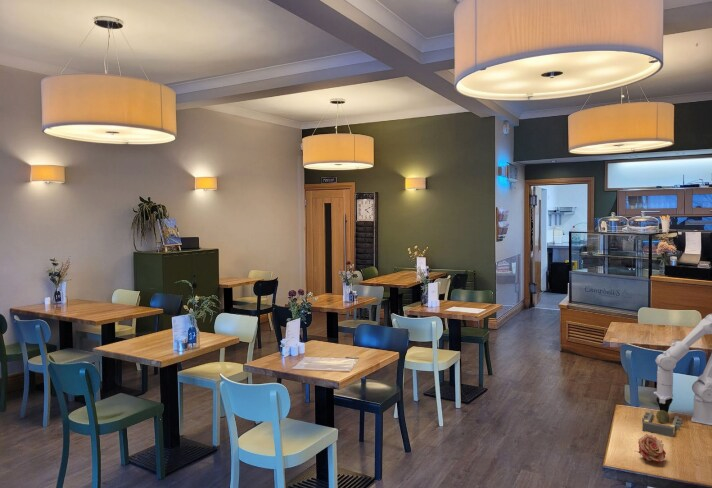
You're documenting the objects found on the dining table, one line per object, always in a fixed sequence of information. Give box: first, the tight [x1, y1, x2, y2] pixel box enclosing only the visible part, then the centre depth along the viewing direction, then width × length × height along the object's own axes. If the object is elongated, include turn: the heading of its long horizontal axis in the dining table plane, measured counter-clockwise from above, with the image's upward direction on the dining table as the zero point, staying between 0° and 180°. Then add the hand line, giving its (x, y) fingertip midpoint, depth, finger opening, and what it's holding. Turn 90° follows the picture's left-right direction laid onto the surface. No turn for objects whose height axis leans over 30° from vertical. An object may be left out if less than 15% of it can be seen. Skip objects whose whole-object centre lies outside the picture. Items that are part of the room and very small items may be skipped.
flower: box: [635, 433, 667, 464], centre depth 187 cm, size 10×9×8 cm
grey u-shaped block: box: [641, 410, 683, 438], centre depth 217 cm, size 13×20×3 cm, turn 144°
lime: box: [655, 409, 671, 424], centre depth 220 cm, size 4×5×5 cm
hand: (664, 415), depth 224 cm, fingers closed
